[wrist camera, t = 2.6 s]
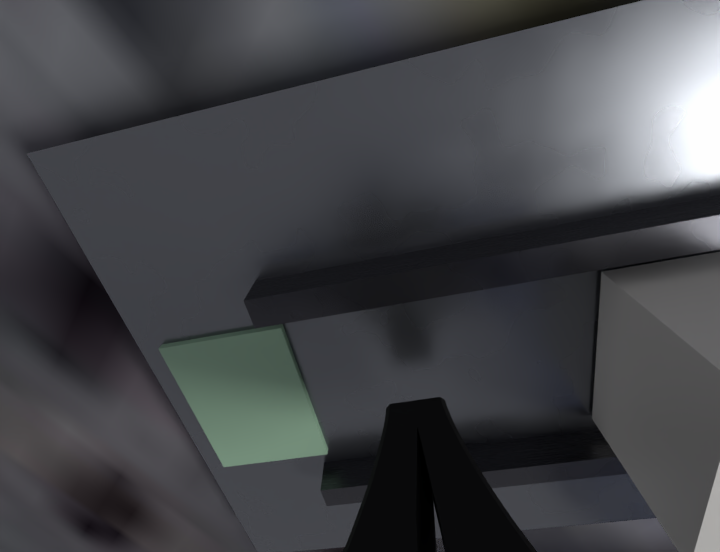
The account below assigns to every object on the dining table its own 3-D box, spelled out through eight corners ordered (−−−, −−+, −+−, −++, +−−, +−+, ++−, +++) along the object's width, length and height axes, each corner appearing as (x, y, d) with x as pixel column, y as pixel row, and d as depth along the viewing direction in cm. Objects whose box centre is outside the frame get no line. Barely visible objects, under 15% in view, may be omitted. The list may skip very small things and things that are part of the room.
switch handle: (700, 405, 11) (853, 555, 8) (591, 418, 12) (689, 568, 8) (736, 248, 9) (973, 357, 5) (601, 271, 9) (740, 387, 6)
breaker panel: (1027, 437, 13) (1157, 507, 11) (268, 517, 17) (252, 583, 15) (1529, -217, 7) (2128, -373, 4) (72, 144, 10) (-14, 161, 8)
